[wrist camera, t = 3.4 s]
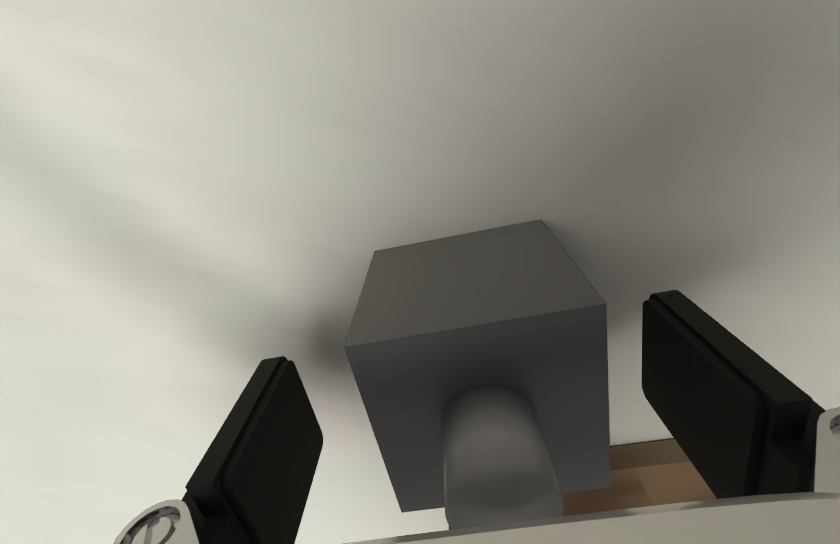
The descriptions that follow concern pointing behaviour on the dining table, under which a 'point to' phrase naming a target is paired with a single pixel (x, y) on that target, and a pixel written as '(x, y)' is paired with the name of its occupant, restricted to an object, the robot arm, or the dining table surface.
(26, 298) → the dining table surface
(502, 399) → the plug
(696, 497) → the socket board
